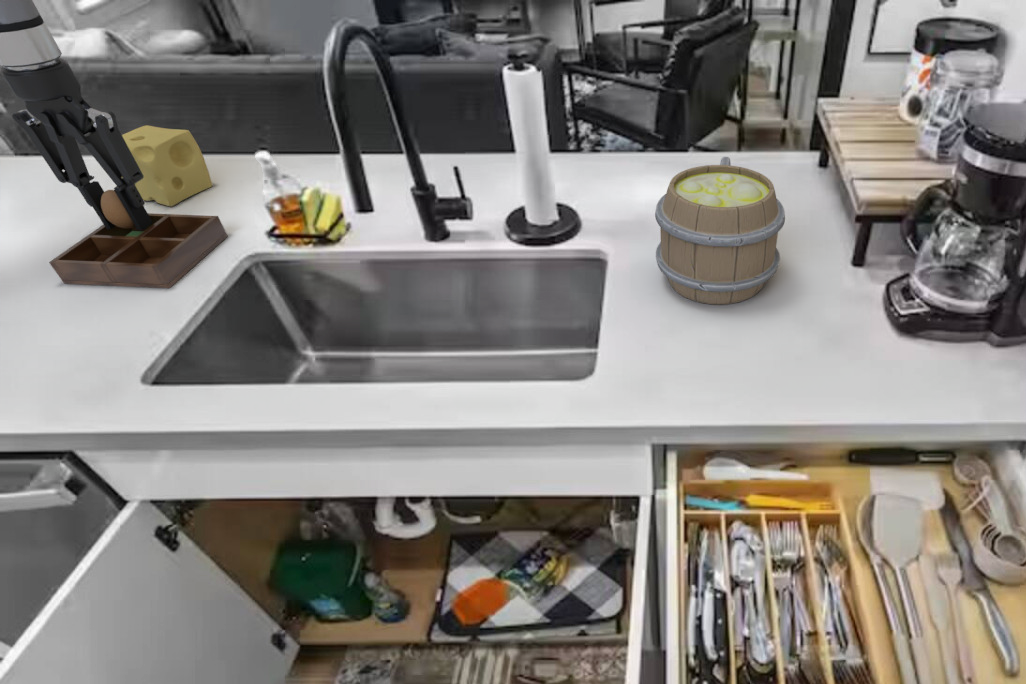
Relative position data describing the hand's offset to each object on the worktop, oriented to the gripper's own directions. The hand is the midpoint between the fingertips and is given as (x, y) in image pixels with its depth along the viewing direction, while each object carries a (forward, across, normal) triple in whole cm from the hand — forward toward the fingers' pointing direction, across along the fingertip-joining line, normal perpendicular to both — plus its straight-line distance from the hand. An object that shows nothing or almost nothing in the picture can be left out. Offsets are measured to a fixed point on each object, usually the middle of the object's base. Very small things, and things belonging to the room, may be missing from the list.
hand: (129, 225), depth 106 cm
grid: (+4, -4, +4) cm, 7 cm away
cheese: (+4, +7, -20) cm, 22 cm away
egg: (0, 0, 0) cm, 0 cm away
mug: (+4, -94, 0) cm, 94 cm away
